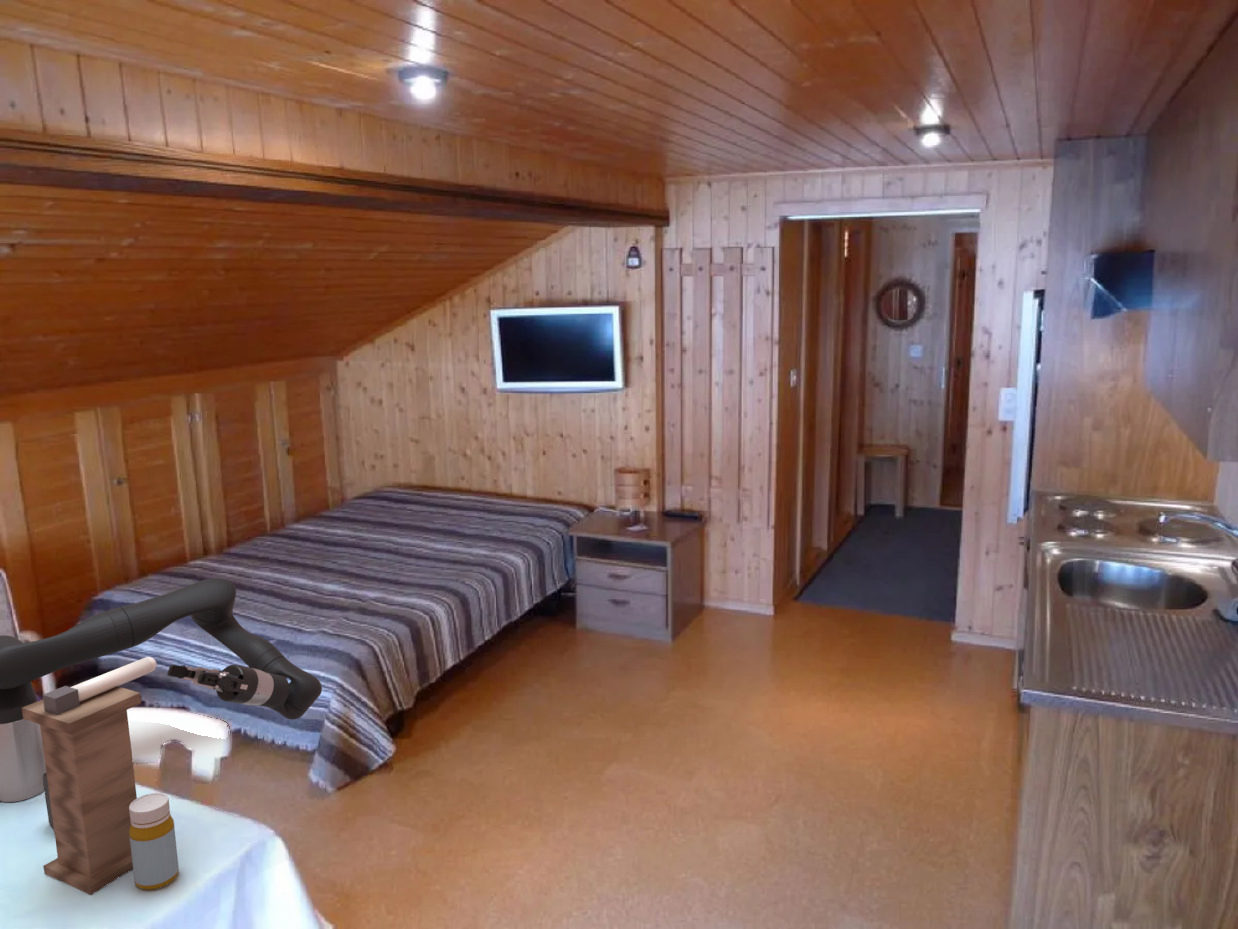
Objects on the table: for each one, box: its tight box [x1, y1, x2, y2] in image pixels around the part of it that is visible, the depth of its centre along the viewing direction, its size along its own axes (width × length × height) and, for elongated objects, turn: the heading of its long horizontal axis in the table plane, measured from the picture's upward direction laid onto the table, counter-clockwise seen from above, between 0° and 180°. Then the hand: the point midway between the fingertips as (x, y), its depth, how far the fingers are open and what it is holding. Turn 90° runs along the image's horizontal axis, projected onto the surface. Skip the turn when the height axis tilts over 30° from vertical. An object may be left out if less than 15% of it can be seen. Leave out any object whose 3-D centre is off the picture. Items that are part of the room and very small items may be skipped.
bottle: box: [129, 792, 180, 891], centre depth 161 cm, size 7×7×15 cm
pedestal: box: [22, 686, 142, 896], centre depth 164 cm, size 13×13×32 cm
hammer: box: [42, 656, 158, 715], centre depth 164 cm, size 20×3×3 cm, turn 153°
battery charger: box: [43, 773, 54, 830], centre depth 177 cm, size 7×4×11 cm, turn 48°
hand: (184, 673), depth 179 cm, fingers open, 8 cm apart
